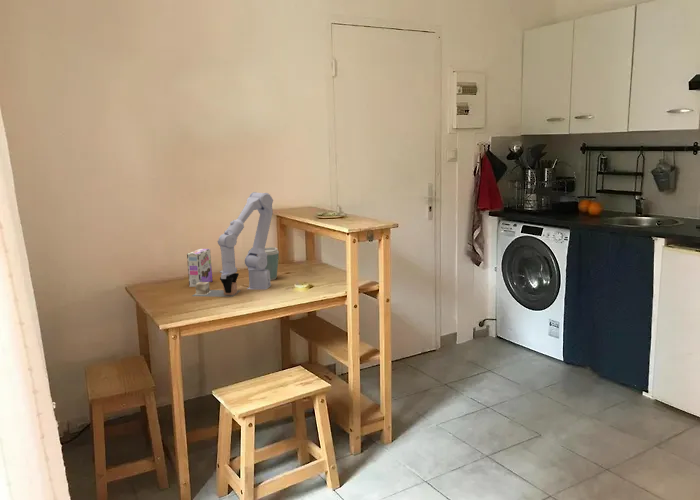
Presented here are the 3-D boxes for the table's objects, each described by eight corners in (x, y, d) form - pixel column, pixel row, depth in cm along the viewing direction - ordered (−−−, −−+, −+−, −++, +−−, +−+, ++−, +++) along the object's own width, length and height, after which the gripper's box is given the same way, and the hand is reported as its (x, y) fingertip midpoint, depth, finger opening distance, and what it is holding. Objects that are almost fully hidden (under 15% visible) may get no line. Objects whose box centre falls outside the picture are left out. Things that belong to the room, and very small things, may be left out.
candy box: (200, 288, 275) (197, 253, 272) (188, 287, 276) (186, 253, 273) (213, 281, 288) (210, 248, 285) (201, 281, 289) (199, 248, 286)
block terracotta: (237, 292, 263) (236, 282, 262) (233, 294, 258) (232, 284, 258) (227, 292, 263) (226, 282, 263) (223, 294, 259) (223, 284, 258)
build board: (241, 291, 266) (241, 290, 266) (232, 298, 255) (232, 296, 255) (201, 291, 269) (201, 289, 269) (191, 297, 258) (191, 296, 258)
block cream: (209, 291, 265) (209, 282, 264) (205, 294, 260) (205, 284, 260) (200, 291, 266) (199, 281, 265) (196, 294, 261) (195, 284, 260)
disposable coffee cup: (271, 282, 282) (269, 251, 280) (254, 280, 288) (252, 249, 285) (284, 277, 291) (283, 247, 289) (267, 275, 297) (266, 246, 294)
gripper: (225, 257, 266) (227, 287, 268) (213, 264, 252) (215, 295, 254) (240, 257, 265) (242, 287, 267) (229, 264, 251) (231, 295, 253)
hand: (230, 291), depth 261 cm, fingers closed on block terracotta, 4 cm apart
